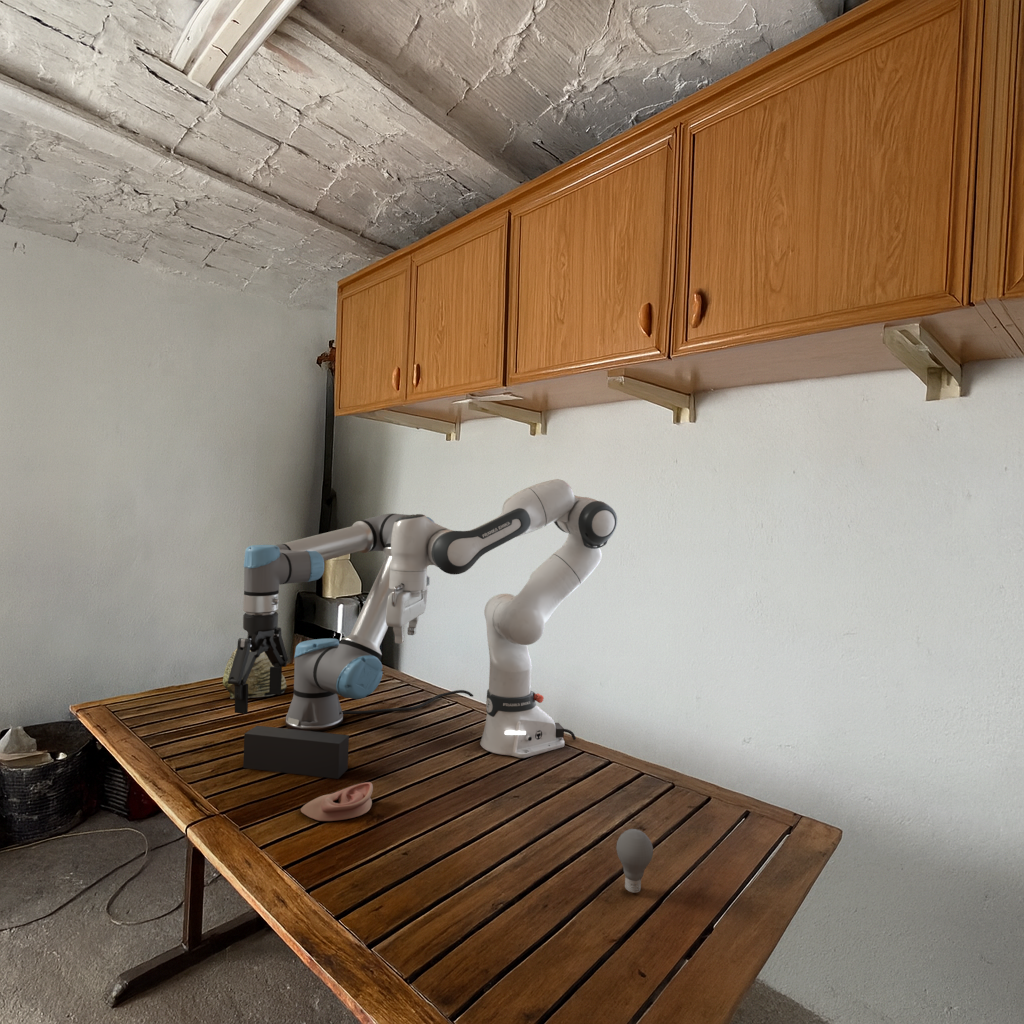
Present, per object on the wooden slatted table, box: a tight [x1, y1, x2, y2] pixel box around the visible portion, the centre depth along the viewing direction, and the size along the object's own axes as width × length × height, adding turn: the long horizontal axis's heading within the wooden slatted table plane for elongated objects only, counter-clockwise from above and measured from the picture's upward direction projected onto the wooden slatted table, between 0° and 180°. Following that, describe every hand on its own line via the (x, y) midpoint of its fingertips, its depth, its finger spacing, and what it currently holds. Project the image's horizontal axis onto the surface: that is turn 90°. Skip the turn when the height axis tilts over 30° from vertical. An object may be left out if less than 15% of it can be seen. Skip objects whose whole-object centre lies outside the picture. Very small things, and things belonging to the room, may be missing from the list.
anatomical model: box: [300, 781, 374, 822], centre depth 129 cm, size 13×4×12 cm
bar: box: [242, 725, 350, 780], centre depth 147 cm, size 23×5×8 cm, turn 81°
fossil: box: [222, 648, 288, 699], centre depth 198 cm, size 9×18×15 cm, turn 132°
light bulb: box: [615, 828, 654, 894], centre depth 106 cm, size 6×6×10 cm
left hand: (259, 703), depth 147 cm, fingers open, 13 cm apart
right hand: (405, 638), depth 153 cm, fingers open, 8 cm apart
